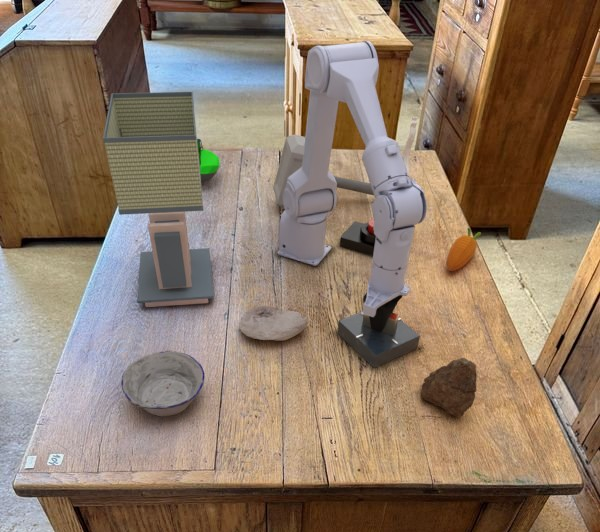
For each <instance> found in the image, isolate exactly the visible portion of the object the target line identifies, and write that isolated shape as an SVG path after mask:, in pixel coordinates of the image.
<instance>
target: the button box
mask: <svg viewBox="0 0 600 532" xmlns="http://www.w3.org/2000/svg"><path fill="white" fill-rule="evenodd" d="M368 223H369V221H368V222H365V223H363V222H360V221H356V220H354V221H353V222H352V223H351V225H349V227H348V228H347V229H346V231H344V232H343V234H342V235H341V236H340V240H339V247H342V248H345V249H348V250H352V251H356V252H358V253H362V254H366V255H369V256H372V257H373V253H374V246H375V239H376V235H375V234H372V233H369V232H368Z"/></svg>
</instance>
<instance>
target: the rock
mask: <svg viewBox="0 0 600 532" xmlns="http://www.w3.org/2000/svg"><path fill="white" fill-rule="evenodd" d="M477 377H478V375H477V369H476V364H475V362H473V361H471V360H469V359H467V358H465V357H459V358H457V359H452V360H451V361H450V362H449V363H448V364H447V365H443V366H440V367H439V368H437V369H435V370H434V371H432V372H430V373H429V375H428V376H426V377H425V378H424V379H423V383H422V385H421V391H420V396H421V397H422V398H423V400H425V401H426V402H429V403H433V404H434V406H436V407H437V406H438V407H440V408H442V409H444V411H445V412H446V413H447V414H449V415H451V416H453V417H455V418H456V417H457V418H458V417H459V418H461V417H462V416H464V414H465V413H466V412H467V411H468V410H469V409H470V408H472V406H473V403H474V401H475V399H476V392H477V379H478V378H477Z"/></svg>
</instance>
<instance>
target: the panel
mask: <svg viewBox="0 0 600 532" xmlns="http://www.w3.org/2000/svg"><path fill="white" fill-rule="evenodd" d="M363 315H364V314H363V310H362V311H359V312H356V313H355V314H352V315H350V316H347V317H345V318H342V319H339V320H338V325H337V335H338V336H339V337H341V338H342V339H343V340H344V341H345V342H346V343H347V344H348V345H349V346H350V347H351V348H352V349H353V350H354V351H355V352H357V353H358V354H359V356H361V357H362V358H363V359H364V360H365V361H366V362H367V363H368V364H369V365H370V366H371V367H372V368H373V369H375V368H377V367H379V366H382V365H384V364H386V363H388V362H391V361H393V360H395V359H397V358H399V357H402V356H404V355H407V354H409V353H410V352H413V351H415V350H417V349H418V347H419V343H420V338H421V335H420V334H418V333H417V332H416V331H415V330H414V329H412V328H411V327H410V326H409V325H408V324H407V323H405V322H404V320H402V318H401V317H399V319H398V324H397V329H396V332H395V333H394V335H393V336H392V335H389V334H386V333H383V332H379V331H376V330H373V329H371V328H369V327H366V326H364V325H362V322H363Z"/></svg>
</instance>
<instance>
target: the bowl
mask: <svg viewBox="0 0 600 532" xmlns="http://www.w3.org/2000/svg"><path fill="white" fill-rule="evenodd" d="M204 382H205V370H204V367H203V366H202V364H201V363H200V362H199V361H198V360H197V359H195V357H193V356H192V355H190V354H187V353H183V352H181V351H175V350H174V351H172V350H166V351H157V352H154V353H151V354H148V355H145V356H142V357H141V358H138V359H137V360H135V361H134V362H132V363H131V364H130V365H128V366H127V367H126V369H125V370H124V371H123V373H122V376H121V381H120V384H121V391H122V392H123V394H124V397H125V398H126V399H127V400H128V402H130V404H132V405H134V406H136V407H138V408H140V409H142V410H144V411H145V412H146V413H148V414H149V415H154V416H158V417H170V416H174V415H178V414H179V413H182V412H183V411H185V410H186V409H187V408H188V407H189V406H190V405H191V404H192V402H193V401H194V399H195V398H196V397H197V396H198V394H199V393H200V391H201V390H202V388H203V385H204Z"/></svg>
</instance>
